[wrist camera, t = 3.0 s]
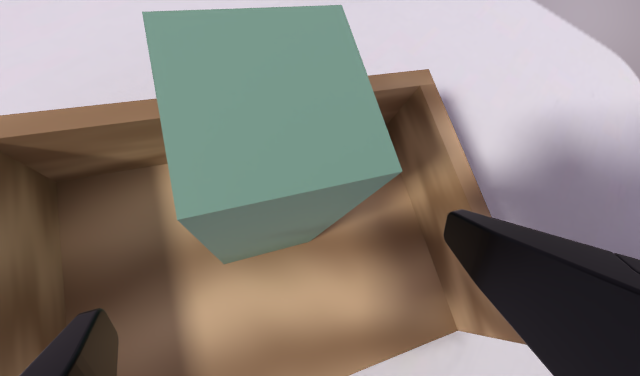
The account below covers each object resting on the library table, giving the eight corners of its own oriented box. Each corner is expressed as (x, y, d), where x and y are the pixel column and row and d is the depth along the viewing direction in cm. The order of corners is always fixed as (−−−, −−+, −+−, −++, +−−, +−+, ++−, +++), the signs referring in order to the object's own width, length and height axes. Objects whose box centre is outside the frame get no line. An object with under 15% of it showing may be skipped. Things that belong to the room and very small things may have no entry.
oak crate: (460, 323, 20) (542, 337, 14) (63, 484, 14) (-64, 618, 8) (385, 120, 24) (428, 69, 18) (44, 174, 17) (-53, 121, 12)
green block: (309, 241, 18) (402, 171, 7) (223, 264, 17) (177, 219, 6) (288, 165, 20) (341, 5, 8) (207, 180, 18) (142, 12, 7)
